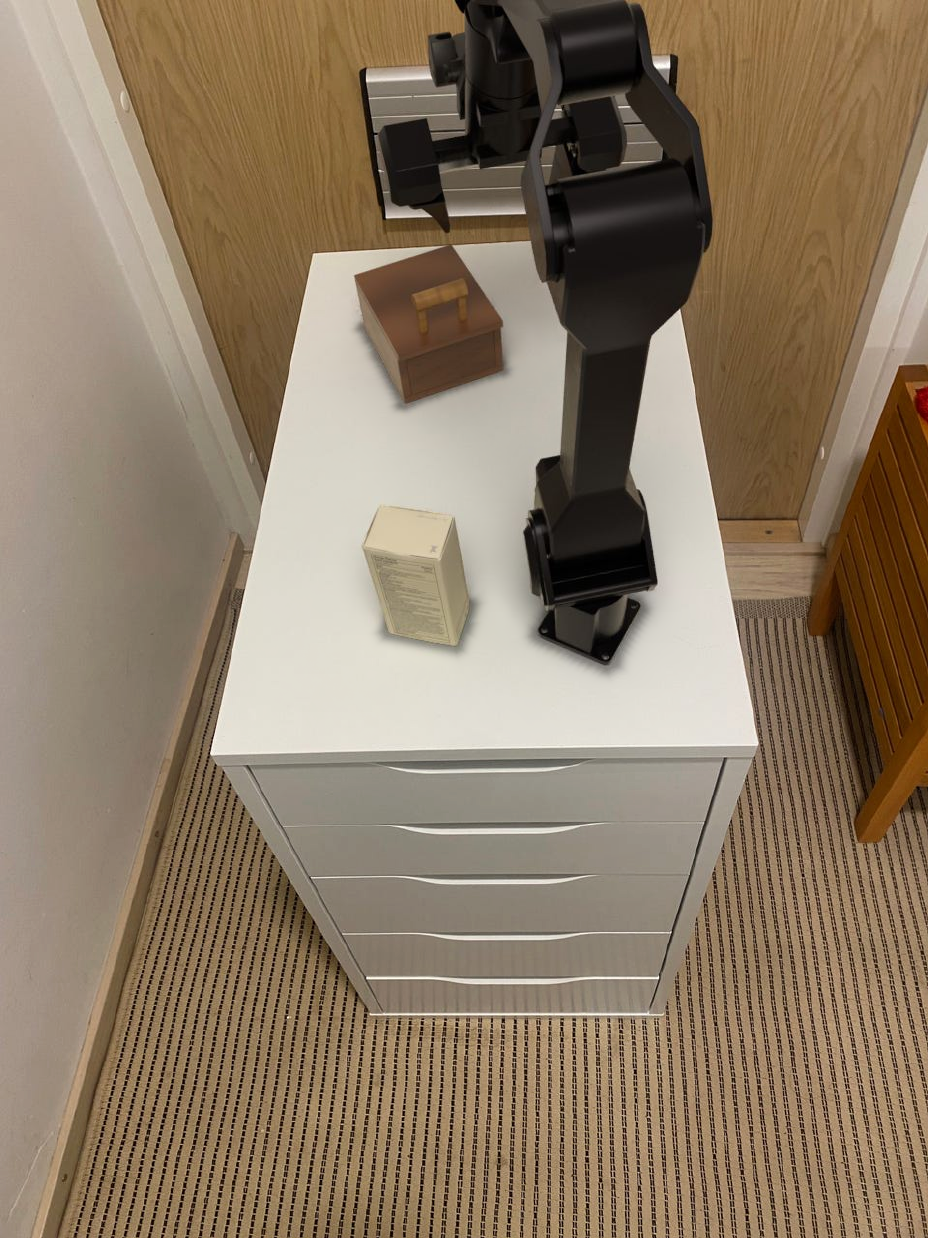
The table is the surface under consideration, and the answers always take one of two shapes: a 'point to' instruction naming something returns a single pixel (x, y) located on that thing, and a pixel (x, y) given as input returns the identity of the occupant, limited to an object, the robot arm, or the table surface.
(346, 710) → the table surface
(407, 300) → the lid
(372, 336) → the wooden box
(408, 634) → the cosmetic box
